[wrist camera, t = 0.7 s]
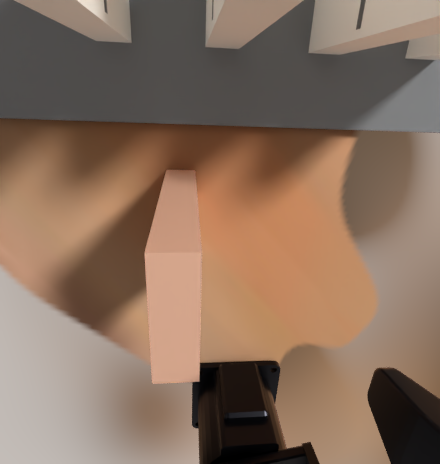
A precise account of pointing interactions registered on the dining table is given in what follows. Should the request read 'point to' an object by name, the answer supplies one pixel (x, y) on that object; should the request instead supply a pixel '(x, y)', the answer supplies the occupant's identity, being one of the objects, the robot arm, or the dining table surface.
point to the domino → (175, 281)
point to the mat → (209, 75)
